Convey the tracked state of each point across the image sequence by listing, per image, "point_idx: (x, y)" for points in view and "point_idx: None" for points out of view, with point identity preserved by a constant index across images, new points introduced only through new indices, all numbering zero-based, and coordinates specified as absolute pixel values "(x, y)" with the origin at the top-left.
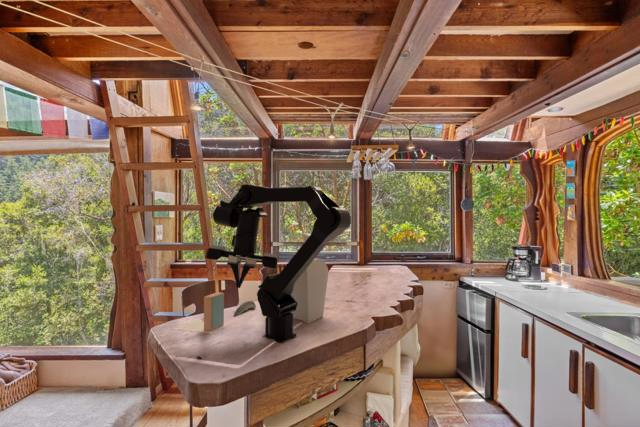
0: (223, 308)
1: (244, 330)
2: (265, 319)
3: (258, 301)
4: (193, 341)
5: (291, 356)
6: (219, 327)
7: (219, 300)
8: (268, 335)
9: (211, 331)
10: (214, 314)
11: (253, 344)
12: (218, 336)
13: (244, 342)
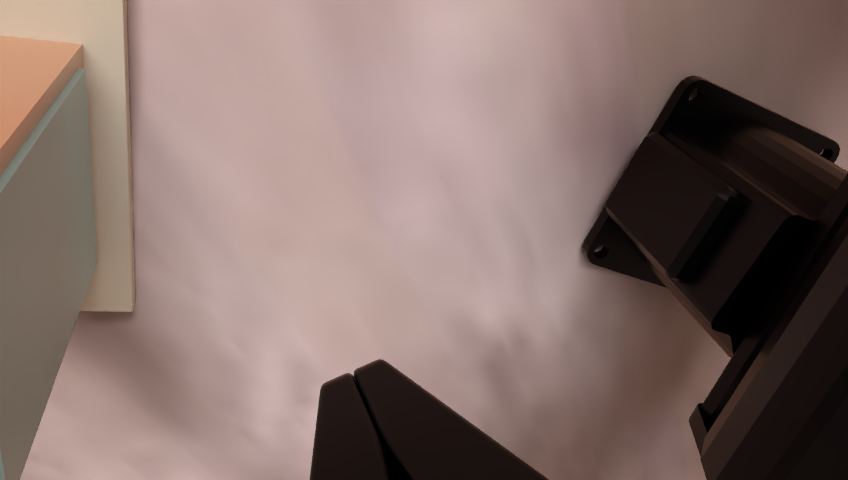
0: (41, 139)
1: (364, 84)
2: (662, 270)
3: (704, 466)
4: (95, 427)
5: None
6: (92, 133)
7: (10, 311)
8: (637, 251)
9: (102, 263)
10: (65, 311)
11: (546, 355)
12: (215, 290)
13: (475, 342)
